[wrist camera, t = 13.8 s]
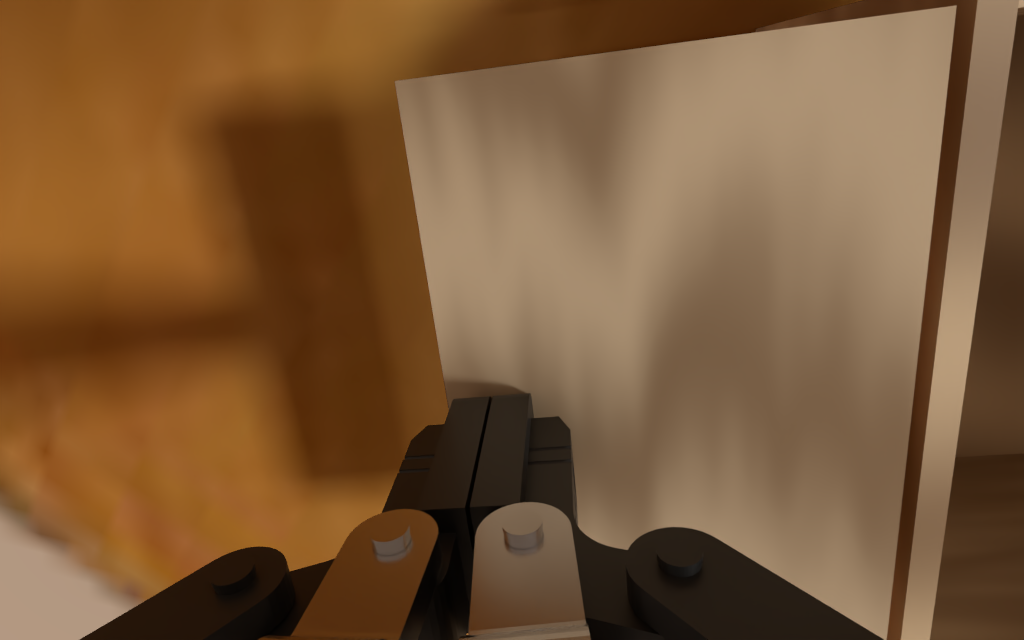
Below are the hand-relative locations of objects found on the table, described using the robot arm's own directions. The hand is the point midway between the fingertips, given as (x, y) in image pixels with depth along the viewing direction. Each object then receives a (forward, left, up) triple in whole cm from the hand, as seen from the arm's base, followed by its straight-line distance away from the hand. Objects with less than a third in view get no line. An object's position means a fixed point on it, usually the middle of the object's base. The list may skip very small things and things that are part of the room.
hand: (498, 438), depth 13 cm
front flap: (0, +7, +2) cm, 7 cm away
